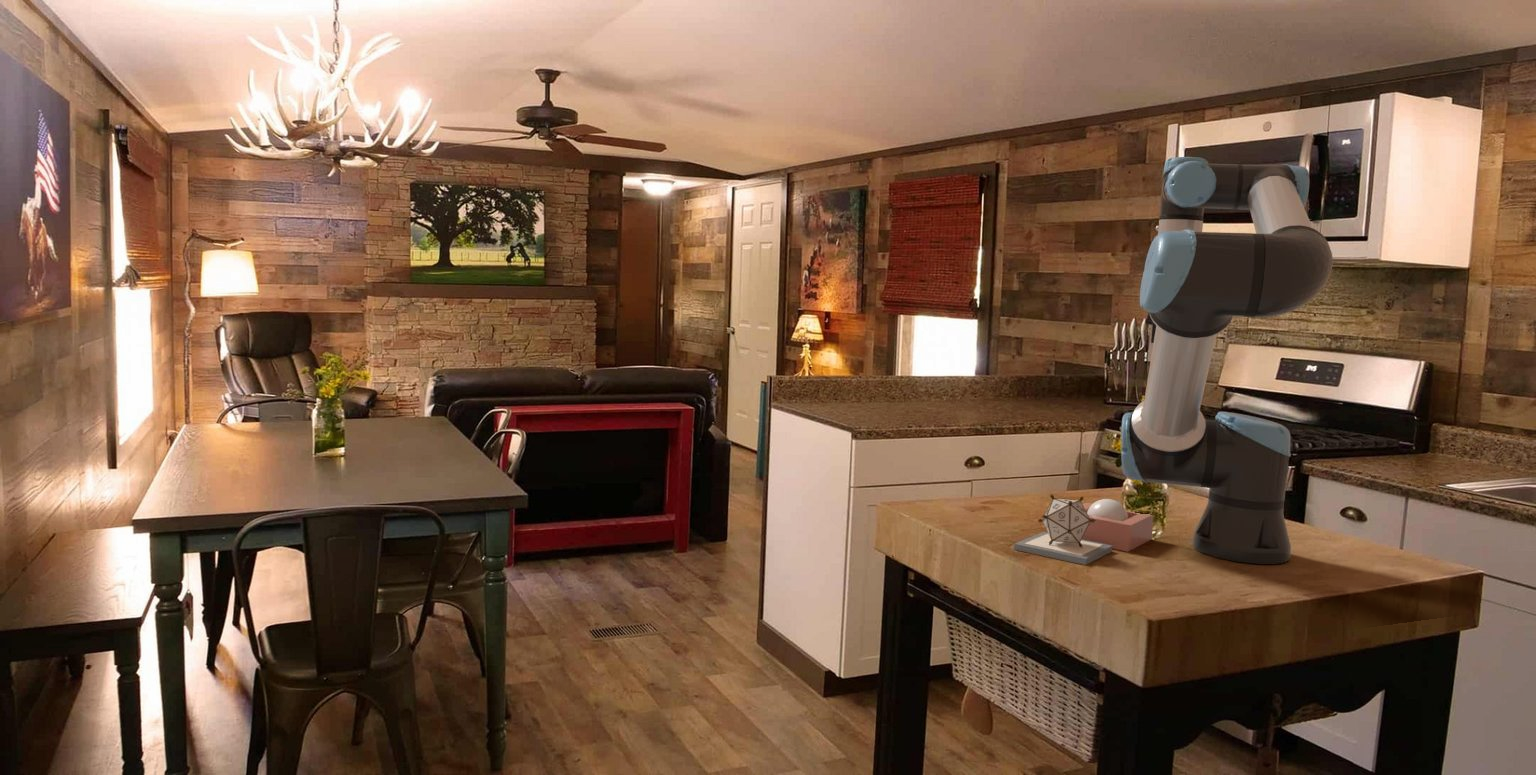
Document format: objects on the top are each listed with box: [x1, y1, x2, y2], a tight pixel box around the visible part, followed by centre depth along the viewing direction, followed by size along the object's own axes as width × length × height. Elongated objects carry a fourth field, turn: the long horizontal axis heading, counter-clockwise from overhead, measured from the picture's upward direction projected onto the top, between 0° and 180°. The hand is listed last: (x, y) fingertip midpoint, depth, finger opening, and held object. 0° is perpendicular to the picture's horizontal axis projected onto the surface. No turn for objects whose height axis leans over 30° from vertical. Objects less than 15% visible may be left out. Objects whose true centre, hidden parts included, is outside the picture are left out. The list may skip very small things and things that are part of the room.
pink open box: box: [1082, 502, 1154, 553], centre depth 183 cm, size 12×12×4 cm
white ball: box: [1087, 498, 1128, 521], centre depth 182 cm, size 7×7×7 cm
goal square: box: [1013, 531, 1113, 566], centre depth 173 cm, size 12×12×1 cm
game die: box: [1037, 493, 1096, 548], centre depth 172 cm, size 9×8×10 cm
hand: (1167, 360), depth 193 cm, fingers open, 13 cm apart
